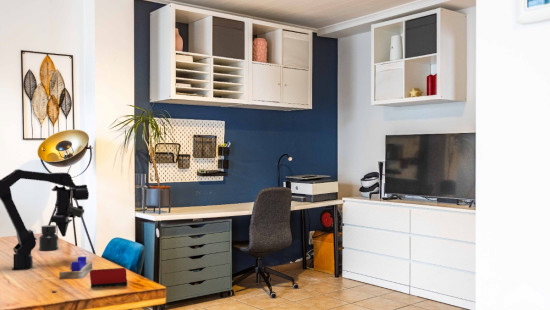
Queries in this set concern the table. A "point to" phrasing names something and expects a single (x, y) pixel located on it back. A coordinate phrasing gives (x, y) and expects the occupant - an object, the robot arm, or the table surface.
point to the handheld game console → (108, 277)
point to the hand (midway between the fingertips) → (63, 236)
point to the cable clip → (79, 264)
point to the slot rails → (76, 272)
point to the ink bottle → (48, 238)
